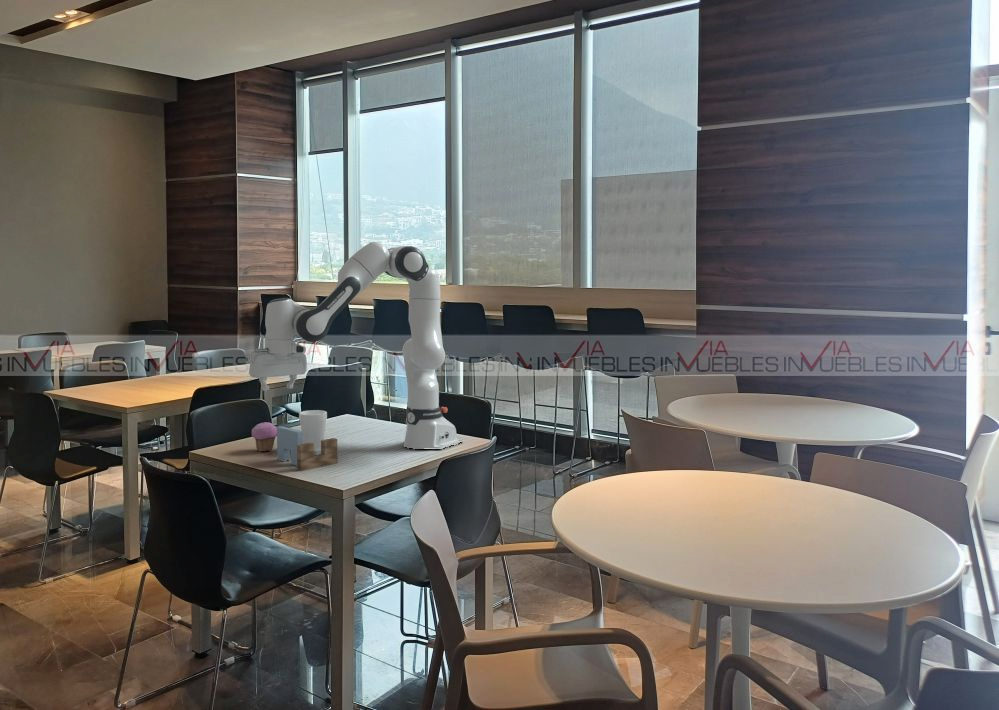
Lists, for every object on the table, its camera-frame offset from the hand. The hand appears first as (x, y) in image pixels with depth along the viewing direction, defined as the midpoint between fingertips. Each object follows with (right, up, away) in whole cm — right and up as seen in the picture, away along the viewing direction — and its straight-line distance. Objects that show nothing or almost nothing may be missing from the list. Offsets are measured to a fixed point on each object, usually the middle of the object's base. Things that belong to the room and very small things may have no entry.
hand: (278, 389), depth 256 cm
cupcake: (-9, -22, +15) cm, 28 cm away
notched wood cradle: (+14, -24, -5) cm, 29 cm away
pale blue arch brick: (+4, -24, 0) cm, 24 cm away
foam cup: (+7, -22, +18) cm, 30 cm away
